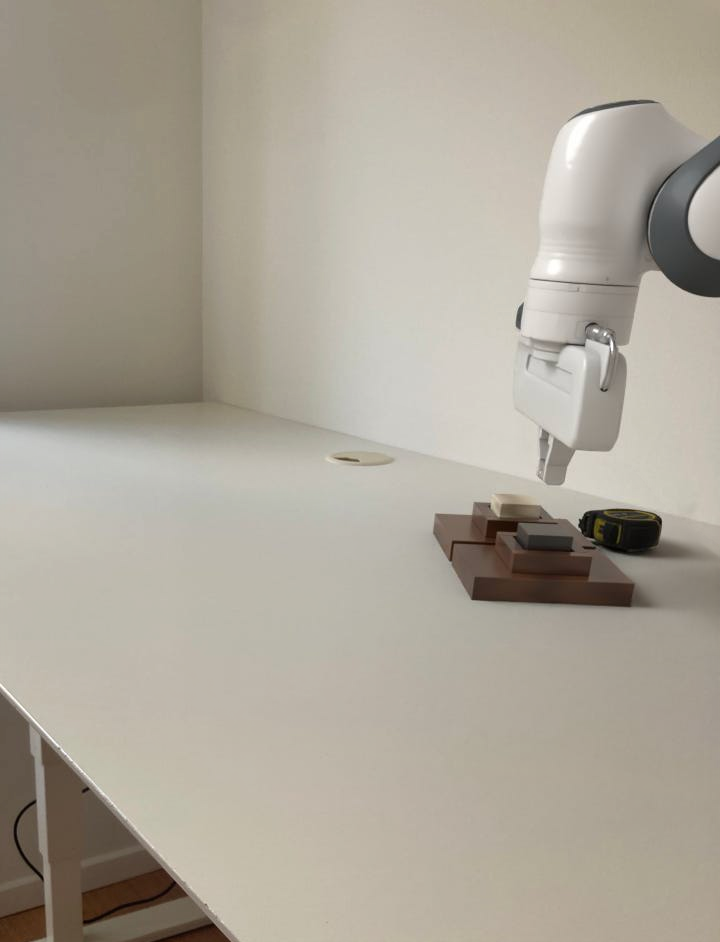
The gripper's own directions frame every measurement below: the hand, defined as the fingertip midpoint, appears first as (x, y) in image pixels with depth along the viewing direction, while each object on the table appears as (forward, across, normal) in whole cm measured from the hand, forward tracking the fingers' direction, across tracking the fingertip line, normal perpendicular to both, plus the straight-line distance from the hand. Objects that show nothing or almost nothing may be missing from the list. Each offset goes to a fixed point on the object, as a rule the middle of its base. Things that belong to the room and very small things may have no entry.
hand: (549, 481), depth 91 cm
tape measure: (+10, +14, -12) cm, 21 cm away
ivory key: (+6, +11, 0) cm, 13 cm away
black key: (+6, 0, 0) cm, 6 cm away
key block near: (+10, 0, 0) cm, 10 cm away
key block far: (+10, +11, 0) cm, 15 cm away
